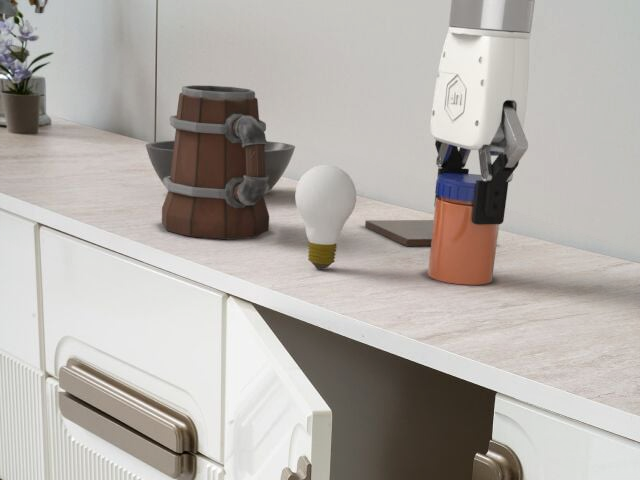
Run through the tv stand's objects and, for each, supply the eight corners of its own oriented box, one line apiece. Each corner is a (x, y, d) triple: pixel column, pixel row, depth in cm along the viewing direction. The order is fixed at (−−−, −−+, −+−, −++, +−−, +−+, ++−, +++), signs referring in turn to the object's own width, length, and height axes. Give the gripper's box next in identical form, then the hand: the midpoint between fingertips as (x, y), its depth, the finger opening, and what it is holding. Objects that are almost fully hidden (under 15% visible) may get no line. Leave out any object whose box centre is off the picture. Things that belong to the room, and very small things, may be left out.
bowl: (313, 197, 151) (316, 150, 149) (176, 206, 138) (177, 154, 135) (259, 183, 160) (261, 138, 157) (124, 190, 146) (124, 141, 144)
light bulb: (300, 259, 115) (307, 158, 111) (356, 266, 113) (365, 164, 109) (283, 270, 109) (289, 165, 105) (341, 278, 108) (350, 171, 104)
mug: (144, 221, 127) (145, 81, 122) (237, 217, 134) (242, 84, 128) (208, 250, 116) (213, 97, 110) (307, 244, 122) (317, 99, 116)
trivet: (445, 226, 138) (446, 219, 138) (491, 245, 129) (492, 238, 129) (364, 227, 134) (365, 220, 134) (406, 246, 125) (407, 239, 124)
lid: (456, 202, 105) (458, 183, 104) (423, 190, 111) (424, 172, 110) (518, 202, 107) (520, 184, 107) (482, 190, 113) (484, 173, 112)
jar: (471, 269, 116) (482, 181, 113) (504, 284, 111) (516, 192, 107) (416, 270, 114) (425, 180, 110) (447, 285, 108) (458, 191, 105)
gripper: (410, 13, 109) (393, 200, 116) (506, 20, 94) (479, 234, 101) (477, 17, 111) (457, 200, 118) (580, 26, 97) (549, 233, 104)
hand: (467, 214), depth 110 cm, fingers closed on lid, 6 cm apart
